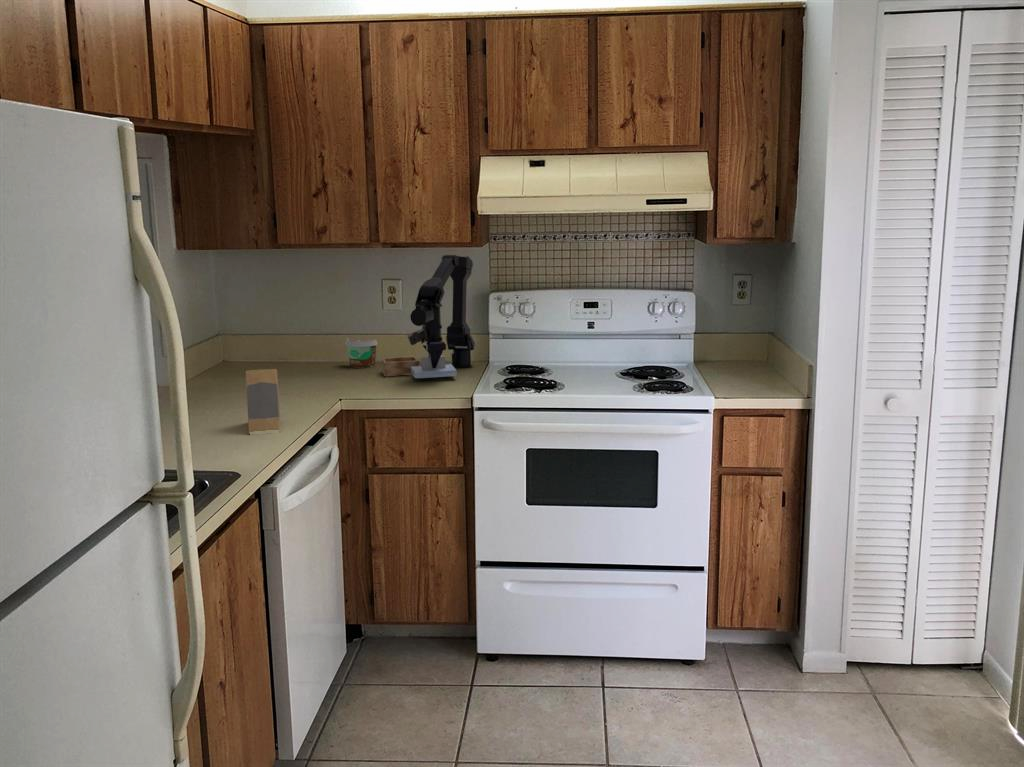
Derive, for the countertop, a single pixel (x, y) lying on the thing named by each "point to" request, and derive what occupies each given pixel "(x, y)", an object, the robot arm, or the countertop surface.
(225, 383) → the countertop surface
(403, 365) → the box
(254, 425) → the sandwich container
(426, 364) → the lid
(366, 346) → the food container
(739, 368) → the countertop surface
